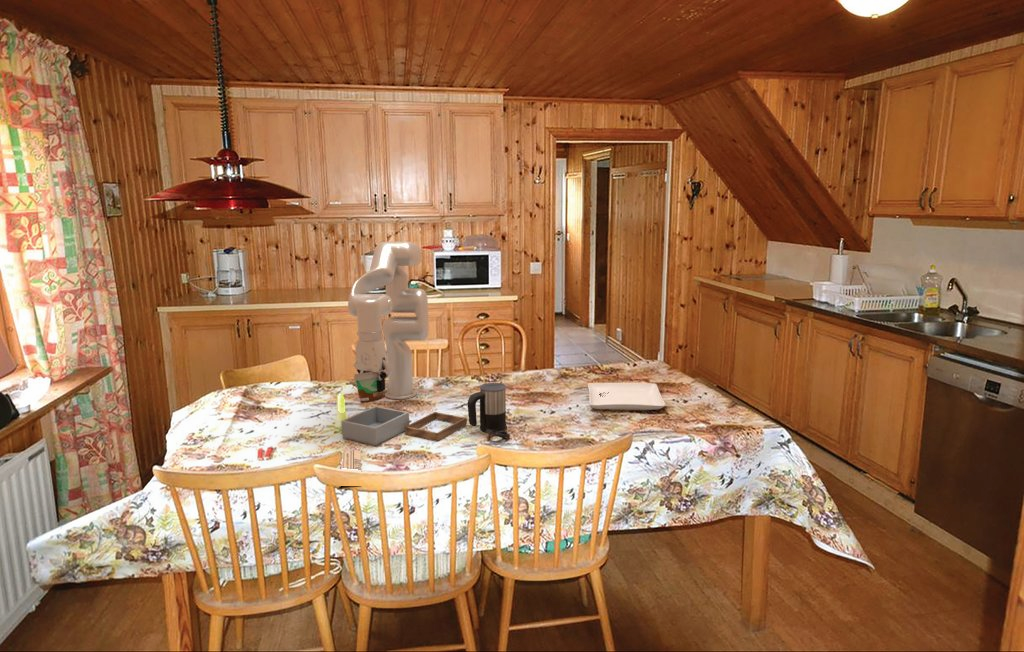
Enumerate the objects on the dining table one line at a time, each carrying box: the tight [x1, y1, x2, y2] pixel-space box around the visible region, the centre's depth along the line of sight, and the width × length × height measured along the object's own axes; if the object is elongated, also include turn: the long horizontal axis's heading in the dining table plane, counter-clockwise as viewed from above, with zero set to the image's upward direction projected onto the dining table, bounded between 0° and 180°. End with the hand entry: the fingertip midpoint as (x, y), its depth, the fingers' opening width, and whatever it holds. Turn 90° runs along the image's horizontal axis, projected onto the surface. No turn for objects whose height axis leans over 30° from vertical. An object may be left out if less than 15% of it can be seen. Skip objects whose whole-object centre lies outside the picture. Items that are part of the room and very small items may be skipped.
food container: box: [353, 371, 385, 404], centre depth 205 cm, size 12×6×10 cm, turn 159°
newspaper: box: [340, 449, 362, 471], centre depth 183 cm, size 24×7×2 cm, turn 14°
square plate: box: [587, 382, 666, 411], centre depth 238 cm, size 27×27×4 cm
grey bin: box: [340, 405, 410, 447], centre depth 209 cm, size 15×17×6 cm
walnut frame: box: [404, 411, 468, 442], centre depth 212 cm, size 14×17×2 cm
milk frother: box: [467, 382, 511, 440], centre depth 207 cm, size 14×16×15 cm
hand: (373, 389), depth 206 cm, fingers closed on food container, 5 cm apart
